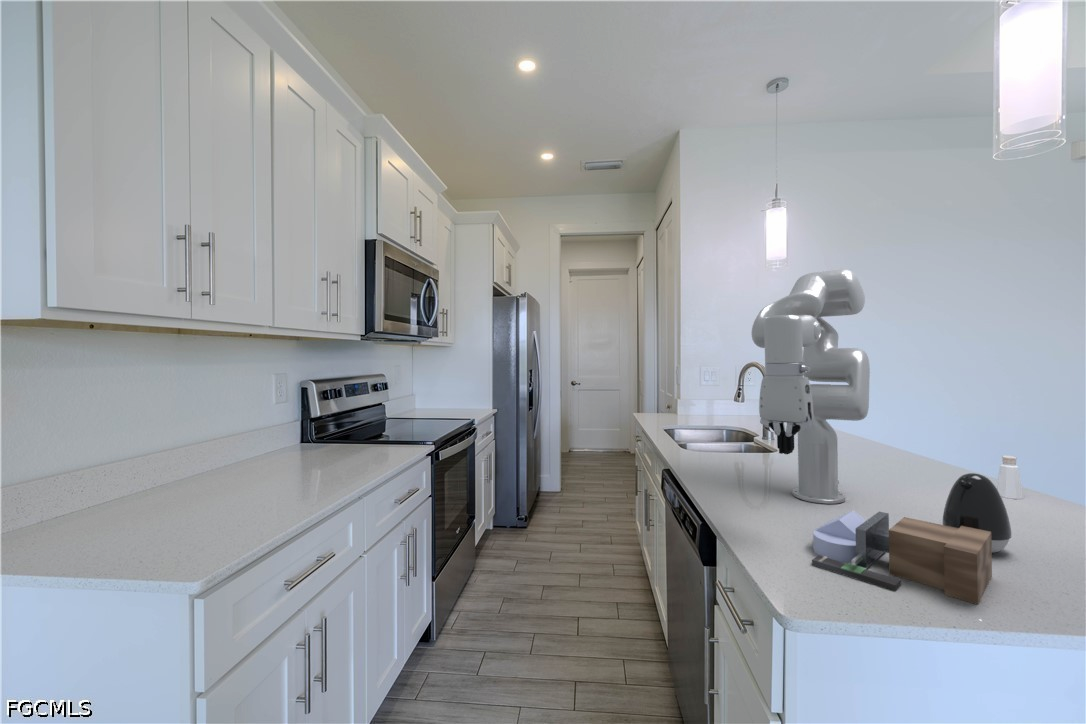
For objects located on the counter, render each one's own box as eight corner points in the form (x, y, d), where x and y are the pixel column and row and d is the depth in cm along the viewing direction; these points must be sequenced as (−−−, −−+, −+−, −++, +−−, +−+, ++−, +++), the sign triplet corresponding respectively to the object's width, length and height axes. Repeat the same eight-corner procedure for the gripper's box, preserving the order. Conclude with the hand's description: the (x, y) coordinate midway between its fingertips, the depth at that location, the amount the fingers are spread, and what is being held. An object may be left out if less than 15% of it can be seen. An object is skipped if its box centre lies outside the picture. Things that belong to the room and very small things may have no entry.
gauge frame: (846, 539, 99) (846, 502, 99) (992, 576, 81) (991, 531, 81) (812, 564, 87) (811, 523, 87) (972, 615, 69) (971, 562, 69)
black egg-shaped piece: (931, 543, 96) (930, 471, 95) (959, 534, 100) (958, 465, 100) (994, 563, 86) (993, 482, 86) (1022, 552, 90) (1021, 476, 90)
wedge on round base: (830, 535, 101) (806, 552, 93) (829, 505, 101) (805, 519, 93) (879, 548, 94) (857, 567, 86) (878, 515, 94) (857, 531, 86)
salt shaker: (991, 492, 128) (990, 453, 128) (1015, 494, 127) (1015, 454, 127) (1003, 498, 123) (1003, 457, 123) (1029, 500, 122) (1028, 458, 121)
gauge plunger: (879, 545, 94) (879, 511, 94) (946, 562, 86) (945, 525, 86) (848, 572, 83) (847, 533, 83) (921, 594, 75) (920, 552, 75)
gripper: (827, 370, 98) (829, 455, 98) (758, 369, 110) (760, 445, 110) (813, 372, 93) (815, 461, 94) (742, 371, 105) (745, 450, 105)
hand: (785, 452), depth 102 cm, fingers closed
